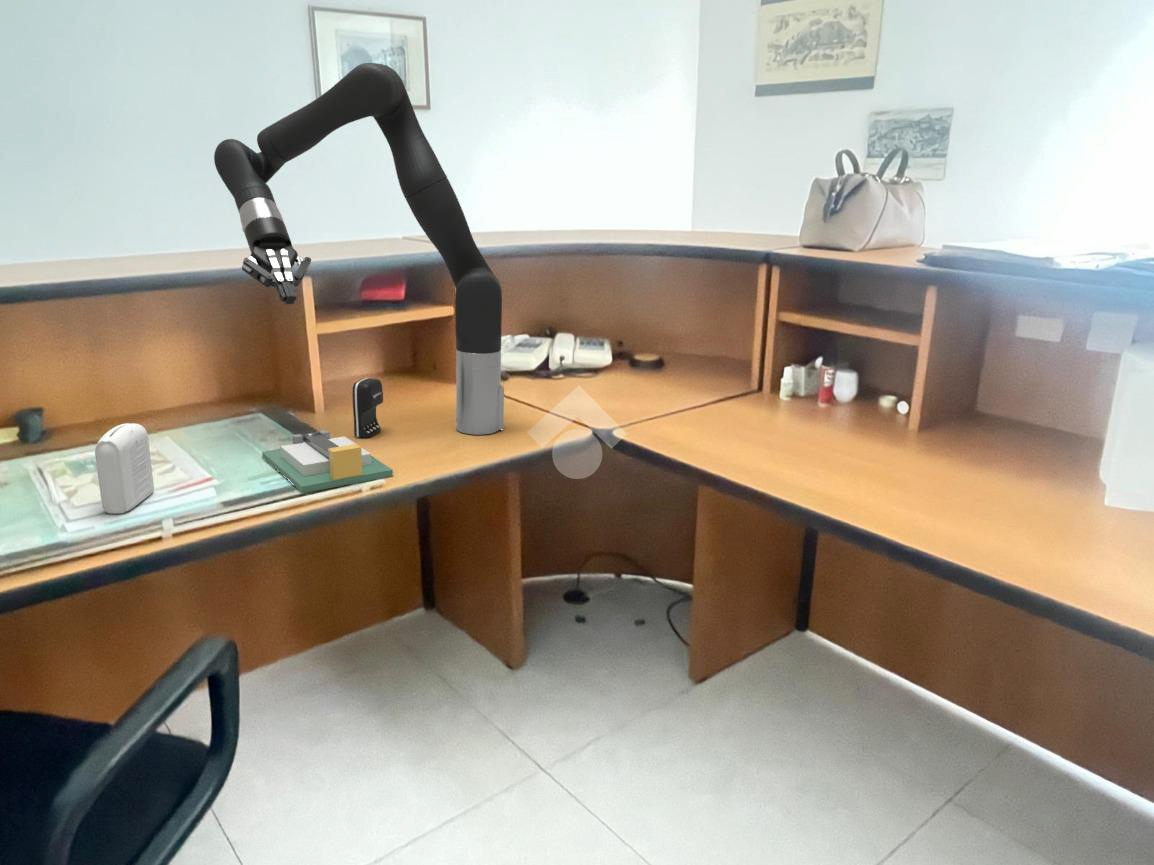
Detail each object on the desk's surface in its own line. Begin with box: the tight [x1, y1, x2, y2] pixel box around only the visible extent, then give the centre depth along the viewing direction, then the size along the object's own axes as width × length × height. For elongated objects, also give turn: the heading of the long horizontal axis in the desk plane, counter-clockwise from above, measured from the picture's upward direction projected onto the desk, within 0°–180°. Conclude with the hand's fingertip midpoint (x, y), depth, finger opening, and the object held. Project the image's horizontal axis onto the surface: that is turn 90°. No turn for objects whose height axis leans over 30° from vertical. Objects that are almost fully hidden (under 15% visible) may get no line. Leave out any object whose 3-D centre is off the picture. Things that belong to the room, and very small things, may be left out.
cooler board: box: [261, 429, 394, 494], centre depth 143 cm, size 21×16×6 cm
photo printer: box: [94, 423, 155, 515], centre depth 123 cm, size 10×4×12 cm, turn 3°
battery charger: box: [352, 377, 384, 438], centre depth 162 cm, size 7×4×11 cm, turn 167°
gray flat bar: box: [301, 431, 339, 457], centre depth 143 cm, size 16×3×1 cm, turn 38°
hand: (290, 301), depth 146 cm, fingers closed
